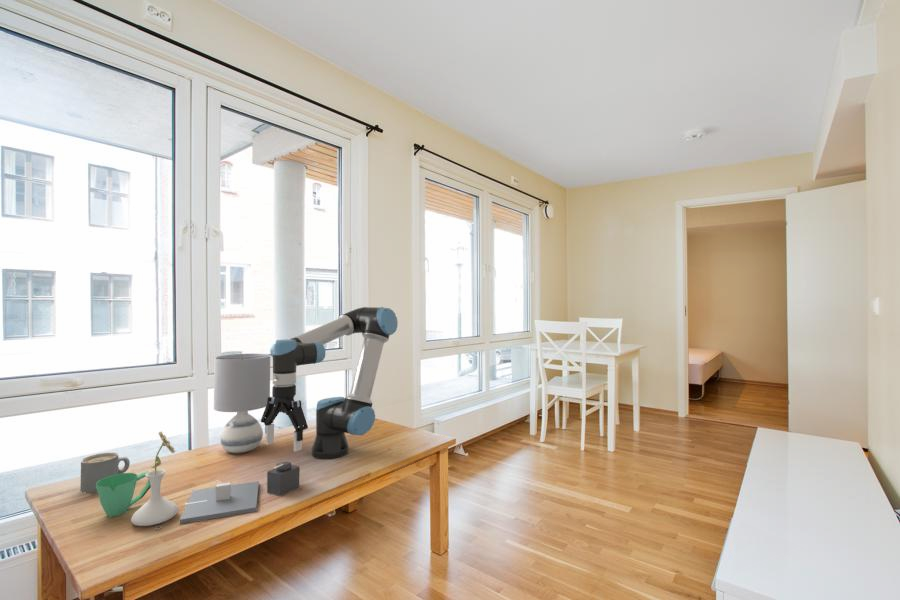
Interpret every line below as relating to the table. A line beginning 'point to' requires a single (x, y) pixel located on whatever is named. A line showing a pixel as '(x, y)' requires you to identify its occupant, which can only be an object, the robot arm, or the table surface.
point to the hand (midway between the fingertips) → (283, 446)
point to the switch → (221, 501)
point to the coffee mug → (100, 469)
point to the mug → (119, 492)
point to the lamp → (241, 397)
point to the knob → (283, 478)
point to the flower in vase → (155, 496)
